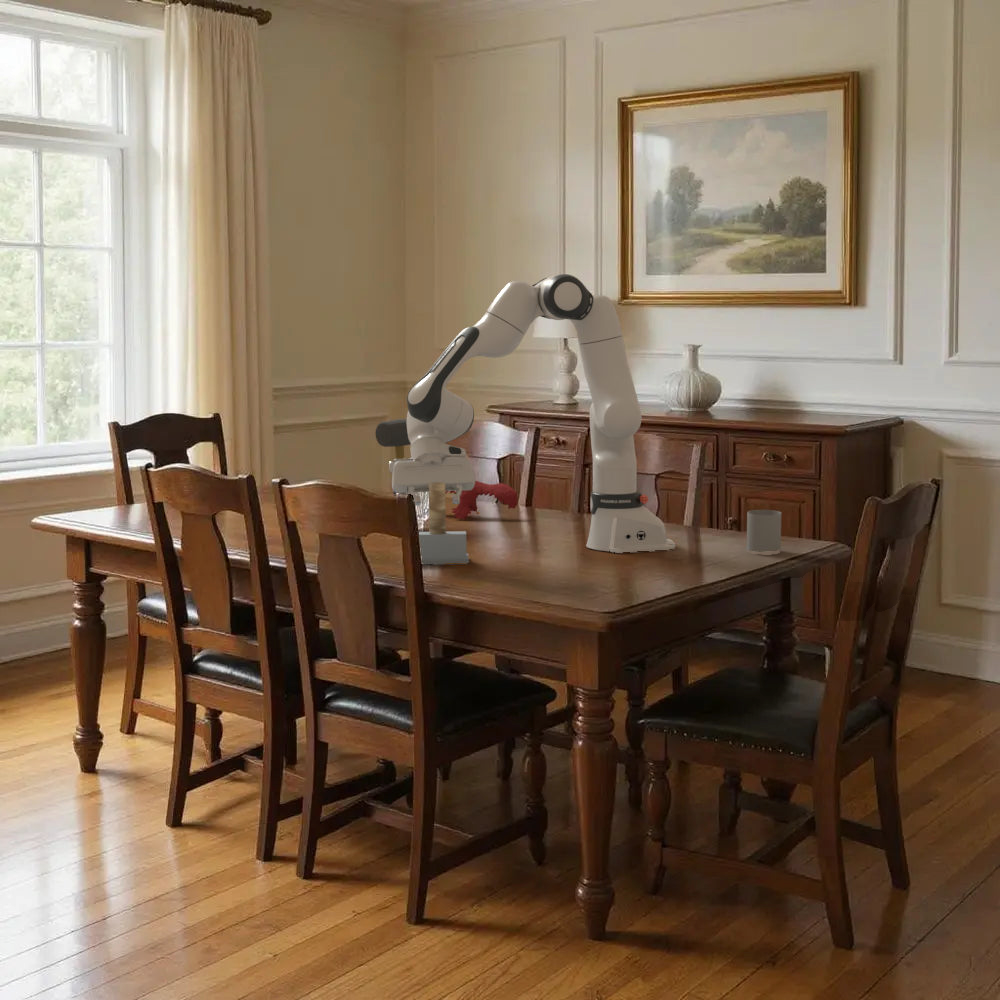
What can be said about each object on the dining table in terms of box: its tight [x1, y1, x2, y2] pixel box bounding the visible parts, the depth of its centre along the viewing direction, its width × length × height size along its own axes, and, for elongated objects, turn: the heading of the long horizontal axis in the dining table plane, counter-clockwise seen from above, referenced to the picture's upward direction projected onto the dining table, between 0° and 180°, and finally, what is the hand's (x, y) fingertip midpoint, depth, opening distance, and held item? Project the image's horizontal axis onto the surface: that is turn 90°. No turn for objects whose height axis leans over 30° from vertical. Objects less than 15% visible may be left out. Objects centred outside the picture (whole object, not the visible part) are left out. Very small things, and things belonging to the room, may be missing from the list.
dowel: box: [428, 483, 447, 534], centre depth 335 cm, size 4×4×12 cm
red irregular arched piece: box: [445, 480, 519, 520], centre depth 402 cm, size 28×9×15 cm
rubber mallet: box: [374, 418, 411, 495], centre depth 384 cm, size 12×8×30 cm, turn 136°
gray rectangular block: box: [418, 530, 470, 566], centre depth 336 cm, size 15×7×7 cm, turn 93°
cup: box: [746, 509, 782, 552], centre depth 345 cm, size 8×8×10 cm
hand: (437, 503), depth 334 cm, fingers open, 8 cm apart
